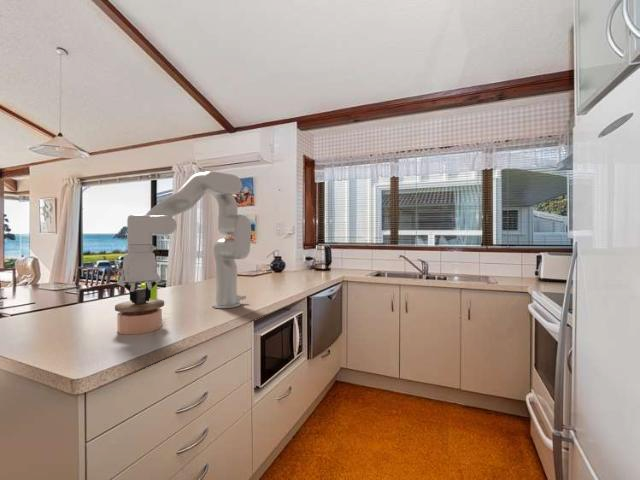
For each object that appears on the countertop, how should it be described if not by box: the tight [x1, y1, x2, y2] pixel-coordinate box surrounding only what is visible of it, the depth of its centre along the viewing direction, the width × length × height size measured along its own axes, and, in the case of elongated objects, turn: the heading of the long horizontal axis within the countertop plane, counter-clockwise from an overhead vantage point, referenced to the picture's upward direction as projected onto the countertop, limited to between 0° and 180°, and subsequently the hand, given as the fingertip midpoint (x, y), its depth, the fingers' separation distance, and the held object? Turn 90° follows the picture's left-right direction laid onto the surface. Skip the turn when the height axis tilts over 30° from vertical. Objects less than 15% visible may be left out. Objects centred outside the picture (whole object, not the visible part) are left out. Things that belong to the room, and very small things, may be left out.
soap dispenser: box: [140, 280, 158, 299], centre depth 126 cm, size 6×7×20 cm
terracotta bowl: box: [116, 307, 163, 335], centre depth 108 cm, size 13×13×6 cm
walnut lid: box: [114, 288, 165, 313], centre depth 108 cm, size 15×15×6 cm
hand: (140, 301), depth 108 cm, fingers closed on walnut lid, 3 cm apart
